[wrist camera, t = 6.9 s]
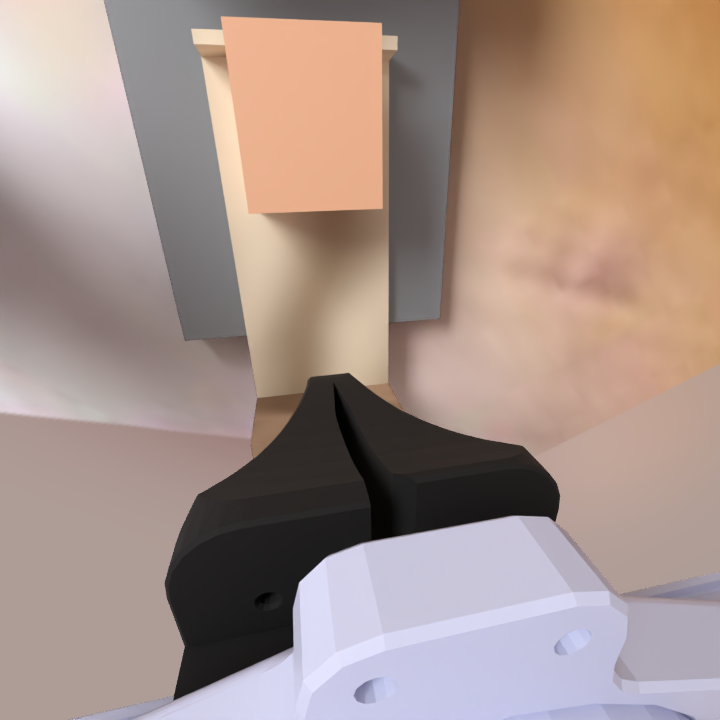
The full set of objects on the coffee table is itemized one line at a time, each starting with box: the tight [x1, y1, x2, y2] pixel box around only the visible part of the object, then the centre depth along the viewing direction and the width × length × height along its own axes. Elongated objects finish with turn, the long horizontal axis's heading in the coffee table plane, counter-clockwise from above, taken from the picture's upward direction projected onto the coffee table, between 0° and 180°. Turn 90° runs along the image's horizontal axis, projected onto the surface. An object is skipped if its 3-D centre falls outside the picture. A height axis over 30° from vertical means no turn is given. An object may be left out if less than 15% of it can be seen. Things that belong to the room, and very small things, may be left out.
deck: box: [104, 0, 459, 341], centre depth 14 cm, size 13×26×2 cm, turn 3°
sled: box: [191, 29, 403, 459], centre depth 15 cm, size 7×16×4 cm, turn 3°
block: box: [221, 16, 383, 214], centre depth 13 cm, size 4×5×4 cm
